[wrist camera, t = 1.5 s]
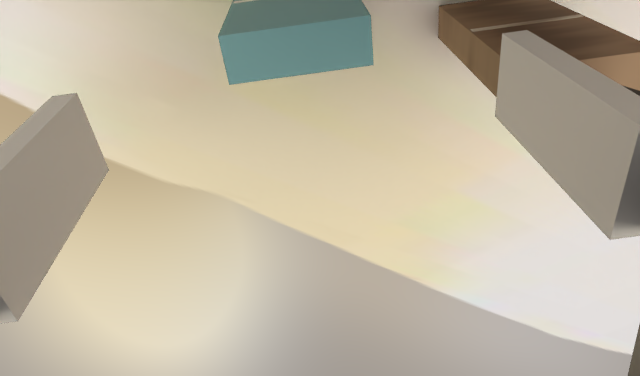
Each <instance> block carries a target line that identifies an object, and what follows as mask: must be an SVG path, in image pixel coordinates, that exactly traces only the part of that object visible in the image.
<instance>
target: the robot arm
mask: <svg viewBox="0 0 640 376" xmlns="http://www.w3.org/2000/svg"><path fill="white" fill-rule="evenodd" d="M495 117H496V118H497V119H498V120H499V121H500V122H501V123H502V124H503V125H504V126H505V127H506V129H507V130H508V131H509V132H510V133H511V134H512V135H513V136H514V137H515V138H516V139H517V140H518V141H519V143H520V144H521V145H522V146H523V147H524V148H525V149H526V150H527V151H528V152H529V153H530V154H531V155H532V157H533V158H534V159H535V160H536V161H537V162H538V163H539V164H540V165H541V166H542V167H543V168H544V169H545V171H546V172H547V173H548V174H549V175H550V176H551V177H552V178H553V179H554V180H555V181H556V182H557V183H558V185H559V186H560V187H561V188H562V189H563V190H564V191H565V192H566V193H567V194H568V195H569V196H570V197H571V199H572V200H573V201H574V202H575V203H576V204H577V205H578V206H579V207H580V208H581V209H582V210H583V211H584V212H585V214H586V215H587V216H588V217H589V218H590V219H591V220H592V221H593V222H594V223H595V224H596V225H597V226H598V228H599V229H600V230H601V231H602V232H603V233H604V234H605V235H606V236H607V237H608V238H609V239H610V240H612V239H619V238H626V237H634V236H640V91H639V90H636V89H632V88H629V87H626V86H622V85H620V84H618V83H617V82H615V81H613V80H612V79H610V78H608V77H606V76H605V75H603V74H601V73H600V72H598V71H596V70H594V69H593V68H591V67H589V66H588V65H586V64H584V63H583V62H581V61H579V60H577V59H576V58H574V57H572V56H571V55H569V54H567V53H566V52H564V51H562V50H560V49H559V48H557V47H555V46H554V45H552V44H550V43H549V42H547V41H545V40H543V39H542V38H540V37H538V36H537V35H535V34H533V33H531V32H530V31H528V30H523V31H516V32H509V33H502V41H501V53H500V65H499V76H498V88H497V99H496V111H495ZM108 171H109V169H108V167H107V164H106V162H105V159H104V157H103V154H102V152H101V150H100V147H99V145H98V142H97V140H96V138H95V135H94V133H93V130H92V128H91V126H90V123H89V121H88V118H87V116H86V114H85V111H84V109H83V106H82V104H81V102H80V99H79V97H78V94H77V93H73V94H66V95H58V96H52V97H51V98H50V99H49V100H48V101H47V102H46V103H44V104H43V105H42V106H41V107H40V108H39V109H38V110H37V111H36V112H35V113H34V114H33V115H32V116H31V117H30V118H28V119H27V120H26V121H25V122H24V123H23V124H22V125H21V126H20V127H19V128H18V129H16V130H15V131H14V132H13V133H12V134H11V135H10V136H9V137H8V138H7V139H6V140H5V141H3V142H2V144H0V324H2V323H9V322H16V321H18V320H19V319H20V317H21V315H22V313H23V312H24V310H25V309H26V307H27V305H28V304H29V302H30V300H31V299H32V297H33V295H34V294H35V292H36V290H37V289H38V287H39V285H40V284H41V282H42V280H43V278H44V277H45V275H46V274H47V272H48V270H49V269H50V267H51V265H52V264H53V262H54V260H55V258H56V257H57V255H58V254H59V252H60V250H61V249H62V247H63V245H64V244H65V242H66V240H67V239H68V237H69V235H70V233H71V232H72V230H73V229H74V227H75V225H76V224H77V222H78V220H79V219H80V217H81V215H82V214H83V212H84V210H85V209H86V207H87V205H88V204H89V202H90V201H91V199H92V197H93V196H94V194H95V192H96V191H97V189H98V187H99V186H100V184H101V182H102V181H103V179H104V177H105V176H106V174H107V172H108ZM628 376H640V325H639V329H638V334H637V338H636V342H635V347H634V351H633V355H632V360H631V364H630V368H629V372H628Z"/></svg>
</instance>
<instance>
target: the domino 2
mask: <svg viewBox="0 0 640 376" xmlns="http://www.w3.org/2000/svg"><path fill="white" fill-rule="evenodd" d="M523 30H528V31H530V32H531V33H533V34H535V35H537V36H538V37H540V38H542V39H543V40H545V41H547V42H549V43H550V44H552V45H554V46H555V47H557V48H559V49H560V50H562V51H564V52H566V53H567V54H569V55H571V56H572V57H574V58H576V59H577V60H579V61H581V62H583V63H584V64H586V65H588V66H589V67H591V68H593V69H594V70H596V71H598V72H600V73H601V74H603V75H605V76H606V77H608V78H610V79H612V80H613V81H615V82H617V83H618V84H620V85H622V86H626V87H629V88H632V89H636V90H639V91H640V41H638V40H636V39H634V38H632V37H630V36H627V35H625V34H623V33H621V32H619V31H616V30H614V29H612V28H610V27H608V26H605V25H603V24H601V23H599V22H597V21H594V20H592V19H590V18H588V17H585V16H583V15H581V14H579V13H577V12H574V11H572V10H570V9H568V8H566V7H563V6H561V5H559V4H557V3H555V2H552V1H550V0H478V1H471V2H464V3H457V4H449V5H442V6H439V29H438V38H439V39H440V40H441V41H442V42H443V43H444V44H445V45H446V46H447V47H448V48H449V49H450V50H451V51H452V52H453V53H454V54H455V55H456V56H457V57H458V58H459V59H460V60H461V61H462V62H463V63H464V64H465V65H466V66H467V68H468V69H469V70H470V71H471V72H472V73H473V74H474V75H475V76H476V77H477V78H478V79H479V80H480V81H481V82H482V83H483V84H484V85H485V86H486V87H487V88H488V89H489V90H490V91H491V92H492V93H493V94H494V95H495V96H496V97H497V88H498V76H499V65H500V53H501V41H502V33H509V32H516V31H523Z"/></svg>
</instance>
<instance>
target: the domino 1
mask: <svg viewBox="0 0 640 376" xmlns="http://www.w3.org/2000/svg"><path fill="white" fill-rule="evenodd" d="M218 38H219V42H220V47H221V51H222V55H223V60H224V64H225V68H226V72H227V77H228V81H229V85H231V84H238V83H246V82H253V81H260V80H268V79H275V78H282V77H289V76H297V75H304V74H311V73H319V72H326V71H333V70H341V69H348V68H355V67H363V66H370V65H373V48H372V31H371V15H370V13H369V12H368V10H367V9H366V7H365V6H364V4H363V2H362V1H361V0H233V2H232V5H231V7H230V9H229V12H228V14H227V16H226V19H225V21H224V23H223V26H222V28H221V30H220V33H219V35H218Z"/></svg>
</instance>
